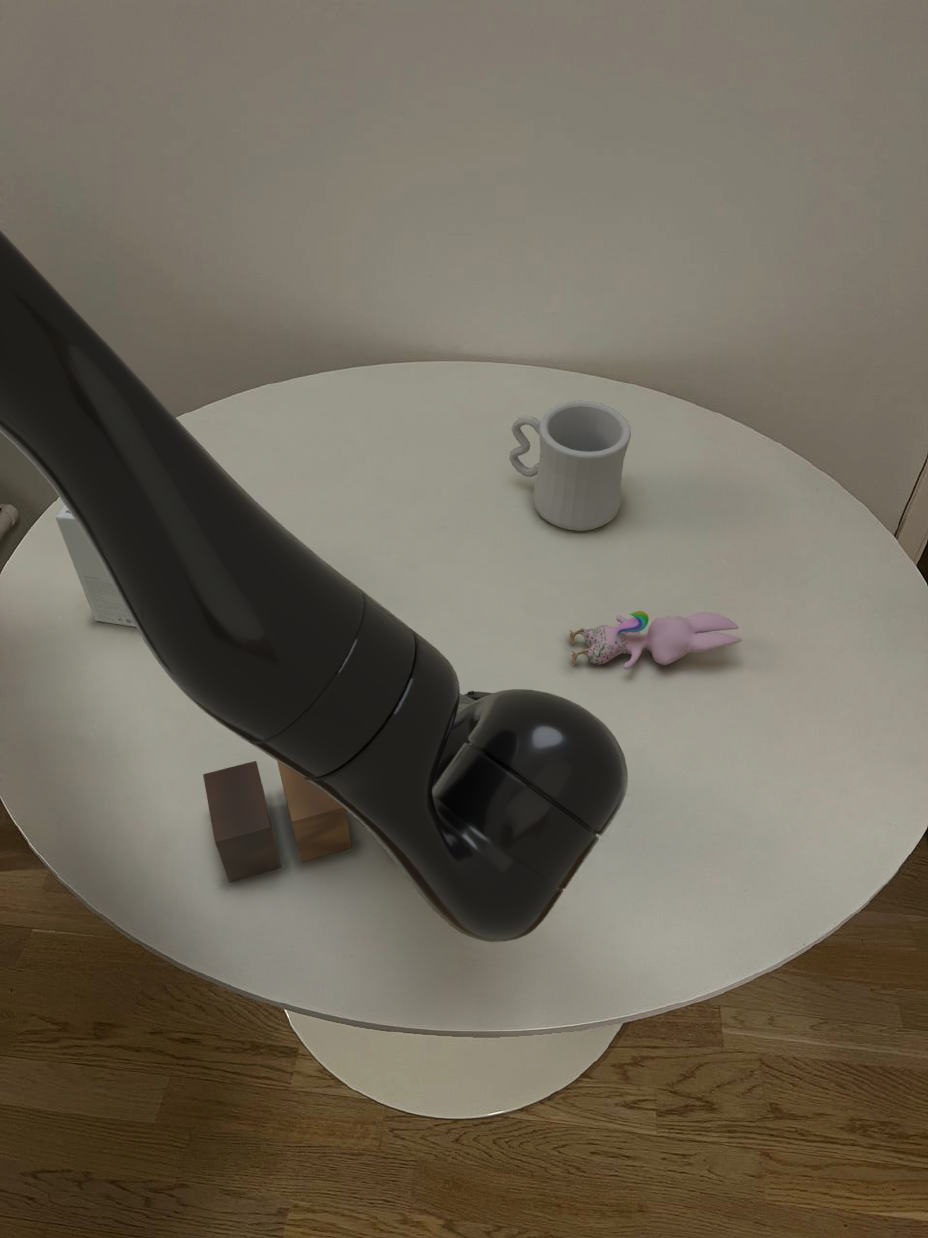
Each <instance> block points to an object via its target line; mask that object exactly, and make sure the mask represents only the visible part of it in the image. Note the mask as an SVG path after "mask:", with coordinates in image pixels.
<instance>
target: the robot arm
mask: <svg viewBox="0 0 928 1238" xmlns="http://www.w3.org/2000/svg"><path fill="white" fill-rule="evenodd" d="M0 434H2V435H3V436H4V437H5V438H6V439H8V440H9V441H10V442H11V443H12V444H13V445H14V446H15V447H16V448H17V449H18V450H19V451H20V453H22V455H24V456H25V458H27V460H29V462H31V463H32V465H33V466H34V467H35V468H36V469H37V471H38V472H39V473H40V474H41V475H42V477H43V478H45V480H46V481H47V482H48V483H49V485H50V486H51V487H52V489H53V490H54V491H55V493H56V494H57V496H58V497H59V499H60V500H61V501H62V503H63V505H64V504H65V506H66V507H67V509H68V510H69V512H70V513H71V514H72V516H73V517H74V519H75V520H76V522H77V523H78V525H79V527H80V528H81V530H82V532H83V533H84V535H85V537H86V538H87V540H88V542H89V544H90V545H91V547H92V549H93V550H94V552H95V554H96V555H97V557H98V559H99V561H100V562H101V564H102V566H103V568H104V570H105V572H106V573H107V575H108V577H109V579H110V581H111V583H112V584H113V586H114V588H115V590H116V592H117V594H118V596H119V597H120V599H121V601H122V603H123V604H124V606H125V608H126V610H127V612H128V613H129V615H130V617H131V619H132V620H133V622H134V624H135V626H136V627H135V628H136V629H137V631H138V633H139V635H140V636H141V638H142V640H143V642H144V643H145V645H146V646H147V648H148V649H149V651H150V652H151V654H152V656H153V657H154V659H155V660H156V661H157V662H158V664H159V665H160V666H161V668H162V669H163V670H164V672H165V674H167V676H168V677H169V678H170V680H172V682H173V683H174V684H175V685H176V686H177V687H178V689H180V691H182V694H184V695H185V696H186V697H187V698H188V699H190V701H191V702H193V703H194V704H195V706H197V707H198V708H199V709H200V710H202V711H203V712H204V713H205V714H206V715H208V716H209V717H211V719H213V720H215V721H216V722H217V723H218V724H219V725H222V726H223V727H224V728H226V729H227V730H229V731H230V732H231V733H233V734H235V735H236V736H237V737H239V738H241V739H242V740H244V741H245V742H247V743H249V744H250V745H252V746H253V747H255V748H257V749H258V750H259V751H261V752H263V753H265V755H268V756H269V757H271V758H272V759H274V760H275V761H278V762H280V763H281V764H283V765H285V766H286V767H288V768H289V769H291V770H292V771H294V772H295V773H297V774H299V775H300V776H302V777H303V778H305V779H306V780H308V781H309V782H310V783H312V784H313V785H315V786H316V787H318V788H319V789H321V790H322V791H323V792H325V793H326V794H327V795H329V796H330V797H331V798H333V799H334V800H335V801H337V802H338V803H339V804H340V805H341V806H342V807H344V808H345V809H346V812H348V813H349V814H350V815H352V816H353V817H354V818H355V820H356V821H358V822H359V823H360V825H362V826H363V827H364V828H365V829H366V830H367V832H369V834H371V836H372V837H373V838H374V839H375V841H377V843H378V844H379V845H380V846H381V847H382V848H383V850H385V852H386V853H387V854H388V856H389V857H390V858H391V859H392V860H393V862H394V863H395V865H396V866H397V867H398V869H399V870H400V871H401V872H402V874H403V875H404V876H405V878H406V879H407V880H408V882H409V883H410V884H411V886H412V887H413V888H414V889H415V891H416V892H417V893H418V895H419V896H420V897H421V898H422V899H423V900H424V902H425V903H426V904H427V905H428V906H429V907H430V909H431V910H432V911H433V912H434V913H435V914H436V915H437V916H438V917H440V918H441V919H442V920H443V921H444V922H445V923H446V924H447V925H449V926H450V927H451V928H452V929H454V930H456V931H457V932H459V933H461V934H462V935H464V936H467V937H468V938H471V939H475V940H477V941H482V942H489V943H504V942H510V941H511V942H512V941H515V940H519V939H521V938H524V937H526V936H528V935H529V934H531V933H533V932H534V931H535V930H536V929H537V928H538V927H539V926H540V925H541V924H542V923H543V922H544V920H545V919H546V918H547V917H548V916H549V914H550V912H551V911H552V909H553V908H554V907H555V905H556V904H557V903H558V901H559V900H560V898H561V896H562V895H563V894H564V890H565V889H567V887H568V886H569V884H570V883H571V881H572V880H573V878H574V877H575V876H576V874H577V873H578V871H579V870H580V869H581V866H582V865H583V864H584V863H585V861H586V860H587V858H588V857H589V855H590V854H591V852H592V851H593V849H594V848H595V847H596V845H597V844H598V842H599V841H600V838H599V836H603V835H604V833H605V832H606V830H607V829H608V828H609V826H610V825H611V823H612V822H613V820H614V818H615V817H616V816H617V814H618V813H619V811H620V809H621V807H622V805H623V802H624V800H625V797H626V794H627V789H628V782H629V777H628V775H629V774H628V773H629V772H628V765H627V761H626V756H625V754H624V752H623V749H622V747H621V745H620V743H619V741H618V740H617V738H616V736H615V735H614V733H613V732H612V731H611V730H610V728H609V727H608V726H607V725H606V724H605V723H604V722H603V721H602V720H601V719H600V718H598V717H597V716H596V715H594V714H593V713H592V712H591V711H589V710H588V709H587V708H584V707H582V706H581V705H579V704H577V703H576V702H573V701H572V700H569V699H567V698H564V697H562V696H560V695H556V694H553V693H550V692H546V691H541V690H534V689H524V688H523V689H520V688H519V689H518V688H517V689H515V688H513V689H511V688H510V689H503V690H500V691H496V692H486V691H475V690H469V691H467V692H466V693H465V694H462V693H461V691H460V689H461V687H460V680H459V678H458V675H457V672H456V670H455V668H454V667H453V665H452V663H451V662H450V661H449V659H448V658H446V657H445V656H444V654H443V653H442V652H441V651H440V650H439V649H438V648H437V647H435V646H434V645H433V644H432V643H430V642H429V641H428V640H427V639H426V638H424V637H423V636H421V634H419V633H417V632H416V631H415V630H413V628H411V627H410V626H409V625H408V624H406V623H405V622H404V621H403V620H401V619H400V618H399V617H397V616H396V615H395V614H394V613H392V612H391V611H390V610H388V609H387V607H385V606H383V605H382V604H380V603H379V602H378V601H377V600H376V599H374V598H373V597H372V596H370V595H369V594H368V593H367V592H365V591H364V590H363V589H361V588H360V587H359V586H357V585H356V584H355V583H354V582H353V581H351V580H349V578H347V577H346V576H344V575H343V574H342V573H341V572H339V571H338V570H337V569H335V568H334V567H333V566H331V565H330V564H329V563H328V562H326V561H325V560H324V559H323V558H322V557H320V555H318V554H317V553H315V552H314V551H313V550H312V549H311V548H310V547H309V546H307V545H306V544H305V543H304V542H302V541H301V540H300V539H299V538H298V537H297V536H296V535H294V534H293V533H292V532H291V531H290V530H288V529H287V528H286V527H285V526H284V525H283V524H282V523H281V522H279V520H278V519H276V518H275V517H274V516H273V514H271V513H270V512H269V511H268V510H266V509H265V508H264V507H263V506H262V505H261V504H260V503H259V502H258V501H257V500H255V499H254V498H253V496H251V495H250V494H249V492H247V491H246V490H245V489H244V488H243V486H241V485H240V484H239V483H238V482H237V481H236V480H235V479H234V478H233V477H232V476H231V475H230V474H229V473H228V472H227V471H226V469H224V467H223V466H222V465H220V464H219V462H218V461H217V460H216V459H215V458H214V457H213V456H212V455H211V454H210V453H209V451H207V450H206V448H205V447H204V446H203V445H202V444H201V443H200V442H199V441H198V440H197V439H196V438H195V436H194V435H193V434H191V432H189V430H188V429H187V428H186V427H185V426H184V425H183V424H182V423H181V422H180V421H179V419H177V417H175V415H174V414H173V413H172V412H171V411H170V410H169V409H168V408H167V406H165V404H164V403H163V402H162V401H161V399H160V398H159V397H157V395H156V394H155V393H154V392H153V391H152V389H150V388H149V386H148V385H147V384H146V383H145V382H144V381H143V380H142V378H140V376H139V375H137V373H136V372H135V371H134V370H133V369H132V368H131V366H129V365H128V364H127V363H126V362H125V360H123V359H122V357H121V356H120V354H118V353H117V352H116V351H115V350H114V349H113V348H112V346H111V345H110V344H109V343H108V342H107V341H106V340H105V339H104V338H103V337H102V336H101V335H100V333H98V331H96V330H95V329H94V327H92V326H91V324H89V322H87V320H86V319H85V318H84V317H83V316H82V315H81V314H80V313H79V312H78V311H77V310H76V309H75V308H74V307H73V306H72V305H71V303H70V302H68V300H67V299H66V298H65V297H64V296H63V295H62V294H61V293H60V292H59V290H57V288H55V286H54V285H53V284H52V283H51V282H50V281H49V280H48V279H47V277H46V276H45V275H44V274H42V272H40V270H38V268H37V267H36V266H35V265H34V264H33V263H32V262H31V260H29V258H28V257H27V256H26V255H24V253H23V252H22V251H21V250H20V249H19V248H18V247H17V245H15V244H14V243H13V241H12V240H10V238H9V237H8V236H7V235H6V234H5V233H4V232H3V231H2V229H0Z"/></svg>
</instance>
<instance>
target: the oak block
mask: <svg viewBox="0 0 928 1238" xmlns="http://www.w3.org/2000/svg"><path fill="white" fill-rule="evenodd" d="M276 761H277V760H276ZM277 767H278V772H279V776H280V780H281V784H282V789H283V793H284V797H285V802H286V805H287V806H286V807H287V810H288V815H289V819H290V823H291V827H292V831H293V836H294V839H295V844H296V848H297V853H298V856H299V857H298V858H299V861H300V862H301V863H303V862H306V861H310V860H314V859H317V858H321V857H325V856H328V855H331V854H335V853H340V852H343V851H345V850H350V849H352V841H351V834H350V833H351V832H350V827H349V820H348V814H347V812H348V811H347V810H346V809H345V808H344V807H342V806H341V805H340V804H339V803H338V802H337V801H335V800H334V799H333V798H331V797H330V796H329V795H327V794H326V793H325V792H323V791H322V790H321V789H319V788H318V787H316V786H315V785H313V784H312V783H310V782H309V781H308V780H306V779H305V778H303V777H302V776H300V775H299V774H297V773H295V772H294V771H292V770H291V769H289V768H288V767H286V766H285V765H283V764H281V763H280V762H278V761H277Z"/></svg>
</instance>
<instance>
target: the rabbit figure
mask: <svg viewBox="0 0 928 1238" xmlns="http://www.w3.org/2000/svg"><path fill="white" fill-rule="evenodd" d="M629 616H632V617H630V618H628V619H626V618H625V617H624V616H622V615H621V614H618V615H616V617H615V620H616V621H617V622H619V624H618V625H617V626H615V627H614V626H612V625H606V624H604V625H599V626H597V627H594V628H589V629H587V628H583V627H581V628H579V629H578V630H576V631H574V632H573V631H572V630H571V629H569V632H570V633H569V639H570V642H571V644H570V646H572V645H573V644H574V641H575V637H576V636H577V635H582V636H583V638H584V640H585V643H586V645H587V646H588V648H584V649H582V650H580V651H578V652H575V651H574V650H571V653H572V654H571V659H572V663H573V664H572V666H576V664H577V659H578V657H579V656H580V655H585V656H586V657H587V659H588V660H589V661H590V663H592V665H593V664H594V665H604V664H606V663H608V662H609V661H612V660H613V659H614V658H616V657H617V656H619V655H621V654H625V655H631V657H630V659H629V660H628V661H626V662H625V663H624V664H623V669H624V670H629V669H631V668H632V666H634V665H635V664H636V663H637V661H638V660H639V658H640V657H641V655H642V652H643V649H647V651H648V652H649V653H650V654H651V655H652V658H653V660H654V661H655V662H656V664H659V665H662V666H667V665H669V664H672V663H674V662H675V661H678V660H679V659H681V658H683V657H684V656H686V655H687V654H690V653H699V652H700V653H701V652H705V651H709V650H713V649H716V648H720V647H724V646H727V645H728V646H729V645H732V644H737V643H740V642H742V639H743V638H741V637H739V636H736V635H732V634H729V633H724V632H719V631H729V630H738V629H739V625H738V624H737V623H735V622H734V621H732V620H731V618H729V617H726V616H724V615H722V614H720V613H716V612H697V613H694V614H691V615H689V616H688V617H682V616H677V615H668V616H662V617H657V618H655V619H654V620H653V621H651V622H650V624H648V623H649V615H648V614H647V613H646V612H645V611H644V610H643V611H642V610H636V611H634V612H631V613H630V614H629ZM648 625H649V627H648V629H647V632H646V633H645V634H642V633H640V632H641V631H643V630H644V629H645V628H646V627H647V626H648Z"/></svg>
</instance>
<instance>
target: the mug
mask: <svg viewBox="0 0 928 1238" xmlns="http://www.w3.org/2000/svg"><path fill="white" fill-rule="evenodd" d="M526 425H527V426H530V427H531V428H533V430H534V432H535V433H537V435H539V459H538V462H537V463H535V464H534V466H533V467H528V466H526V465H524V463H523V462H522V461H521V460H520V458H519V457H520V456H523V455H525V454H527V453H528V452H529V451H530V449H531V442H530V441H529V439H528V438H527V436H526V435H525V433H524V432H523V431H522V429H521V427H523V426H526ZM631 430H632V427H631V426H630V423H629V420H628V419H627V418H626V417H625V416H624V414H622V412H620V411H618V410H617V409H615V408H614V407H612V406H610V405H607V404H605V403H601V402H597V401H593V400H572V401H571V400H570V401H565V402H561V403H559V404H557V405H555V406H553V407H551V408H549V410H547V411H546V412H545V413H544V414H543V415H542V417H541V419H540V420H539V419H538V418H536V417H535V416H531V415H523V416H520V417H517V418H516V419H514V420H513V421H512V426H511V432H512V435H513V437H514V438H515V440H516V441H517V443H518V444H519V446H517V447H514V448H512V449H511V450H510V451H509V457H508V459H509V462H510V464H511V465H512V467H513V468H514V469H515V470H516V471H517V472H518V473H519V474H520V475H522V476H525V477H530V478H531V477H534V476H535V480H534V485H533V491H532V502H533V505H534V508H535V510H536V512H537V513H538V514H539V515H540V517H542V518H543V520H546V521H547V522H548V523H550V524H552V525H553V526H555V527H558V528H560V529H564V530H569V531H577V532H582V531H583V532H584V531H590V530H594V529H598V528H601V527H603V526H605V525H606V524H608V523H610V522H611V521H612V520H613V519H614V518H615V517H616V516H617V514H618V512H619V509H620V506H621V504H622V477H623V468H624V461H625V457H626V453H627V450H628V447H629V444H630V441H631V436H632V431H631Z"/></svg>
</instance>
